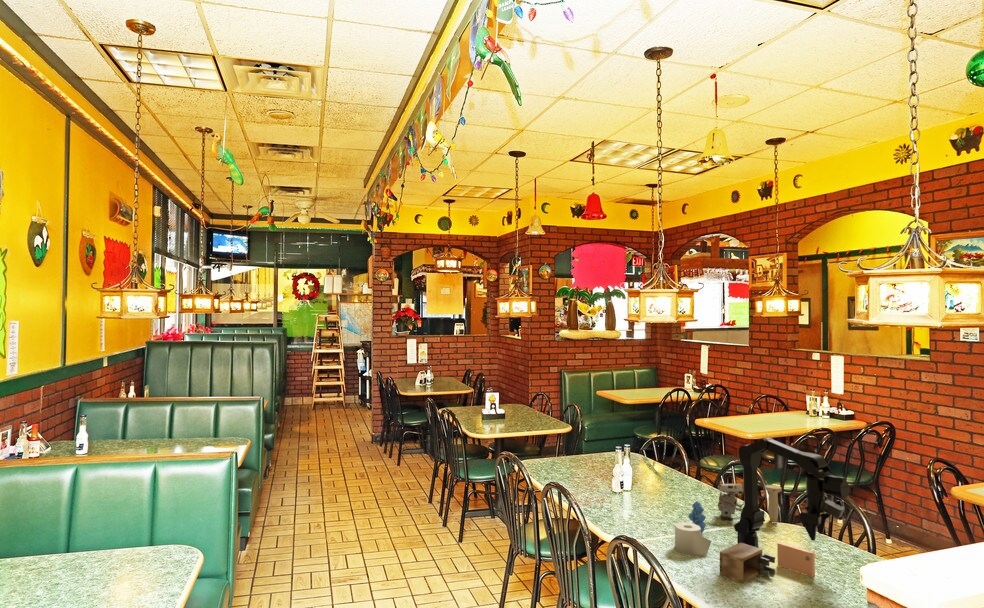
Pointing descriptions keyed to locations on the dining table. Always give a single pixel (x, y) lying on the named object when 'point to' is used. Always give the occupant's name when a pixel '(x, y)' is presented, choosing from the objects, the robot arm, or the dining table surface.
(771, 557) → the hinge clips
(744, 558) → the cabinet
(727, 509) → the figurine
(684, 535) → the toilet tissue
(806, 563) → the cabinet door
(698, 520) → the grapes
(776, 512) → the handle
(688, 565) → the dining table surface
